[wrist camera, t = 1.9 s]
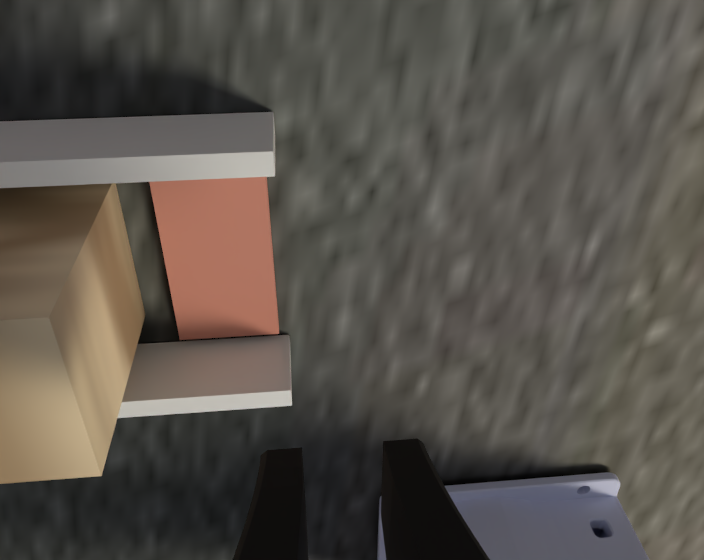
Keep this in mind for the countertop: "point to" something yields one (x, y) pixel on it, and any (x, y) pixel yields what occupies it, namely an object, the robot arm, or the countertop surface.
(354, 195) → the countertop surface
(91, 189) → the maple block
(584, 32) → the countertop surface
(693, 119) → the countertop surface
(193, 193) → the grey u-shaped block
